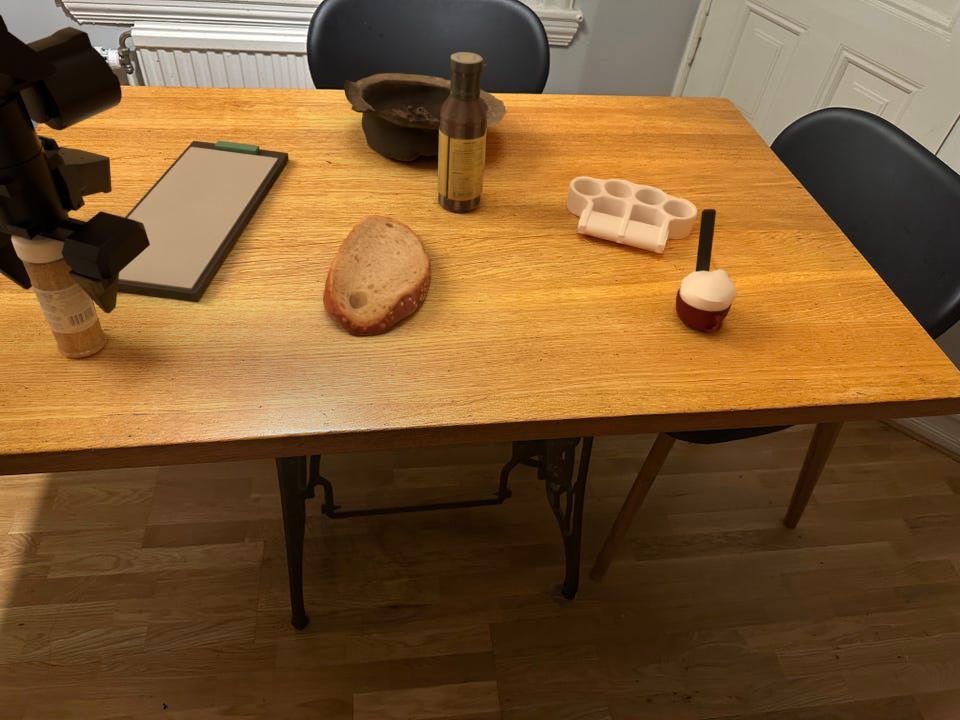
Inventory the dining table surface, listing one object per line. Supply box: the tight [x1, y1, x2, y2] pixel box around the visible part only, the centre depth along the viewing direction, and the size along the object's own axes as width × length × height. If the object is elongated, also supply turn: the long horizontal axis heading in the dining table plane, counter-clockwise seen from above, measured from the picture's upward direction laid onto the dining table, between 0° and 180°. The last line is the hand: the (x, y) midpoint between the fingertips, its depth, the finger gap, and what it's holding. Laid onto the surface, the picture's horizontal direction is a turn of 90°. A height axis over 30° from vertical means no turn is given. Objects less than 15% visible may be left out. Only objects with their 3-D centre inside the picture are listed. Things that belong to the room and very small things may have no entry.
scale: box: [117, 140, 289, 303], centre depth 89 cm, size 34×14×2 cm, turn 175°
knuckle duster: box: [565, 175, 698, 254], centre depth 97 cm, size 3×18×15 cm
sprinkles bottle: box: [11, 235, 107, 359], centre depth 66 cm, size 5×5×13 cm
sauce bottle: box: [437, 51, 488, 213], centre depth 91 cm, size 6×6×20 cm
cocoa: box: [675, 208, 738, 333], centre depth 79 cm, size 10×6×12 cm, turn 167°
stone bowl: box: [343, 72, 508, 162], centre depth 108 cm, size 25×25×9 cm
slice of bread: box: [322, 214, 432, 337], centre depth 82 cm, size 18×18×4 cm
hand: (70, 298), depth 67 cm, fingers open, 9 cm apart
